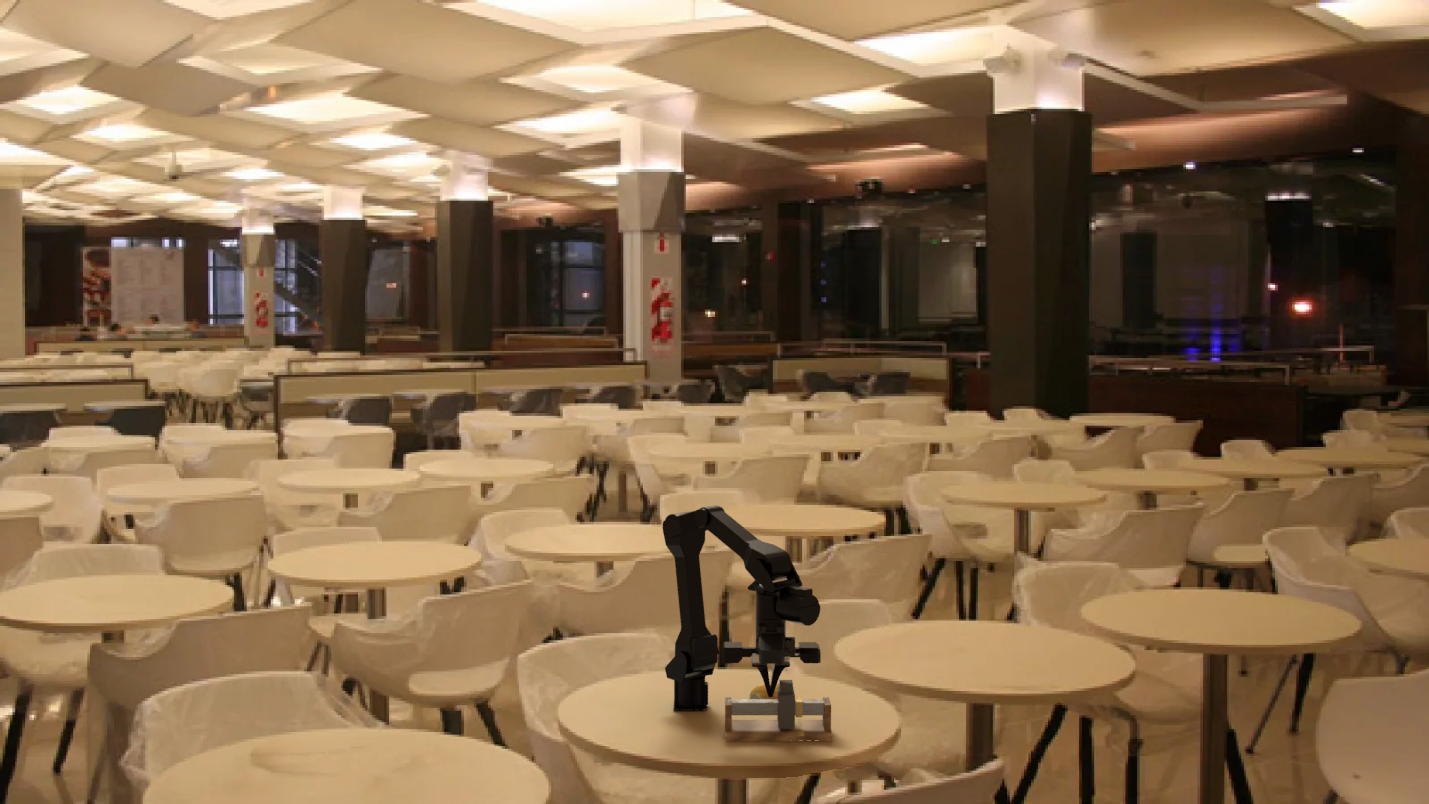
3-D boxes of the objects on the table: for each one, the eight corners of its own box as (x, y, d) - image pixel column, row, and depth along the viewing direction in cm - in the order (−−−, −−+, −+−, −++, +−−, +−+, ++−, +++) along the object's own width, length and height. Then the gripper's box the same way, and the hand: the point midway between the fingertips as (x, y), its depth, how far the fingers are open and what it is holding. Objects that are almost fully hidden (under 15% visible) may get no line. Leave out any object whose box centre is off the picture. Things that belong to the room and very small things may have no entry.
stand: (725, 741, 272) (725, 708, 272) (724, 724, 282) (725, 693, 282) (832, 741, 272) (832, 709, 272) (827, 724, 282) (827, 693, 282)
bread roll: (801, 704, 297) (801, 685, 296) (765, 711, 292) (766, 692, 291) (778, 694, 303) (778, 675, 303) (742, 701, 299) (742, 682, 298)
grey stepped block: (778, 728, 274) (779, 686, 273) (777, 718, 280) (777, 677, 280) (794, 728, 274) (795, 686, 273) (792, 718, 280) (793, 677, 280)
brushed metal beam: (728, 717, 275) (728, 701, 275) (728, 712, 278) (728, 697, 278) (827, 717, 276) (827, 701, 275) (826, 712, 279) (826, 697, 278)
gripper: (721, 626, 267) (721, 709, 269) (823, 626, 267) (822, 709, 269) (721, 612, 278) (721, 692, 280) (818, 612, 278) (818, 692, 280)
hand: (770, 696), depth 277 cm, fingers closed
